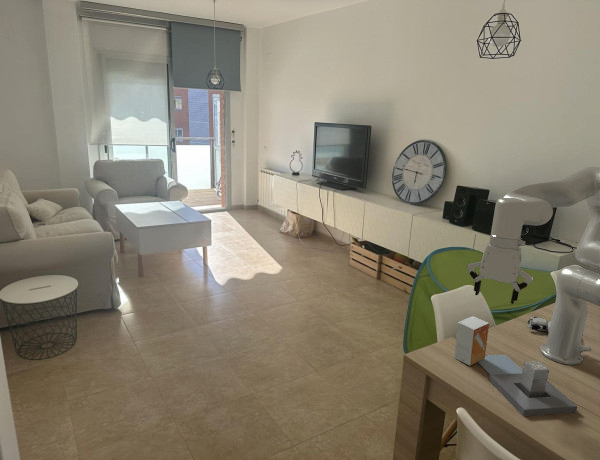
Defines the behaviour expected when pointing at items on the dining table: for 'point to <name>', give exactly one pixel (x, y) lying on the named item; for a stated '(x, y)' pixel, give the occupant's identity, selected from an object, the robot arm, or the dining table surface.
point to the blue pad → (499, 365)
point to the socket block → (532, 406)
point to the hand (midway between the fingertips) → (494, 297)
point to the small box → (471, 340)
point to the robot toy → (538, 324)
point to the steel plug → (534, 379)
